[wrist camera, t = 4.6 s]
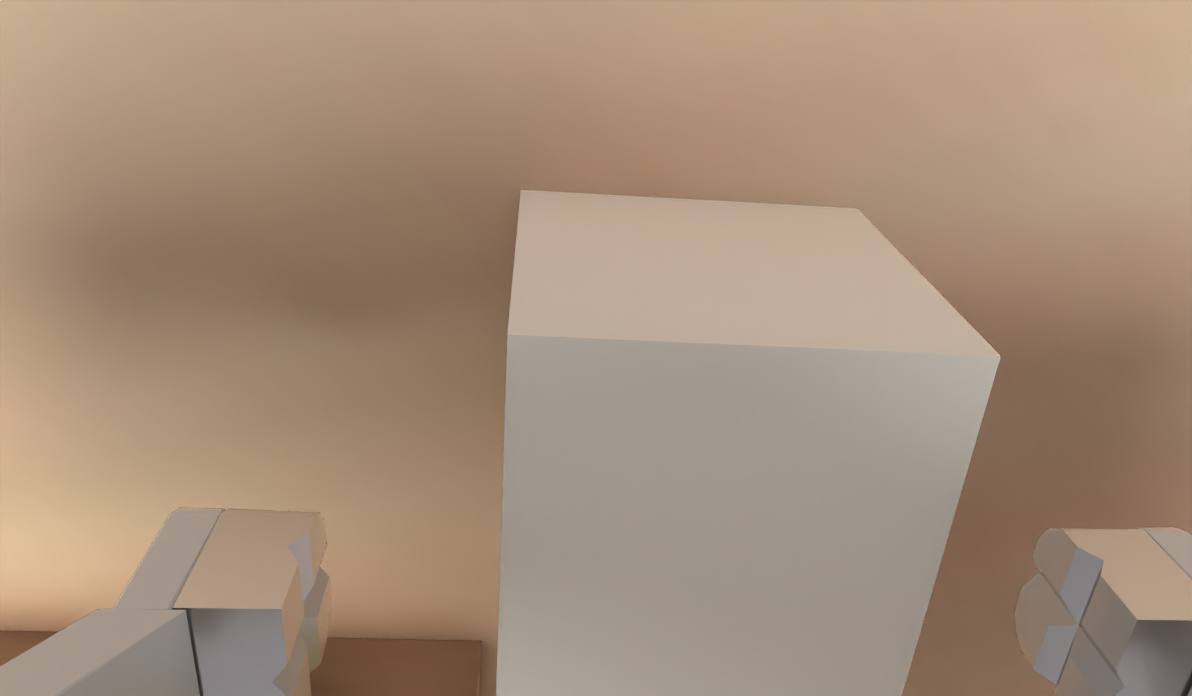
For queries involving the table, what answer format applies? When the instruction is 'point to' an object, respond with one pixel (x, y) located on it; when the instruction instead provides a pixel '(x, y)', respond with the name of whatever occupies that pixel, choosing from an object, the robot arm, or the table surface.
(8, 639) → the walnut block
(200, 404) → the table surface
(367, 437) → the table surface
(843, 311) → the cream block
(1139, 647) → the robot arm
